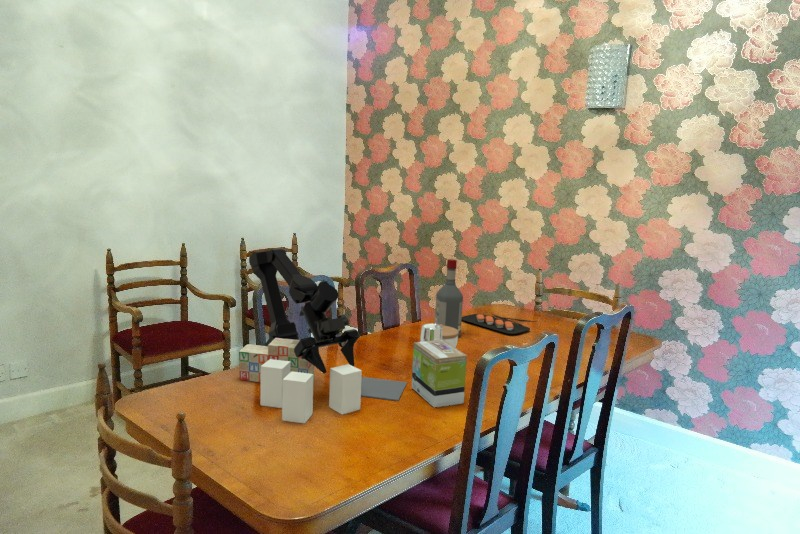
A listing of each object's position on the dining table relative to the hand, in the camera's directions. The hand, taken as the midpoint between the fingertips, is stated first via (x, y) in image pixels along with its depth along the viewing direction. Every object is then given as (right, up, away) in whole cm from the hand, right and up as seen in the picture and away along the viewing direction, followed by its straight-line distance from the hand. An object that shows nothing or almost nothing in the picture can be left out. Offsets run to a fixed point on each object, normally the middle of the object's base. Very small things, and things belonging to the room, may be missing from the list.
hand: (339, 369), depth 159 cm
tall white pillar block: (-10, -11, -7) cm, 17 cm away
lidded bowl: (+30, -3, +48) cm, 56 cm away
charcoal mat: (+10, -8, +14) cm, 19 cm away
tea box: (+27, -10, +11) cm, 31 cm away
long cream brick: (-18, -9, +1) cm, 20 cm away
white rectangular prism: (+1, -10, 0) cm, 10 cm away
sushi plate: (+62, +3, +94) cm, 113 cm away
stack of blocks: (-20, -6, +17) cm, 27 cm away
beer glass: (+26, -6, +31) cm, 41 cm away
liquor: (+35, +1, +72) cm, 80 cm away
